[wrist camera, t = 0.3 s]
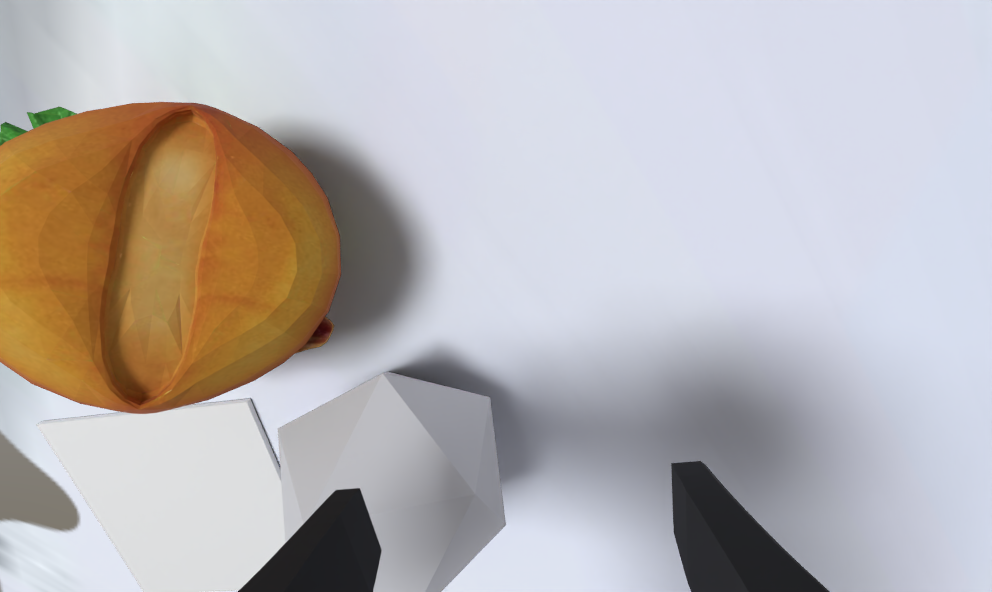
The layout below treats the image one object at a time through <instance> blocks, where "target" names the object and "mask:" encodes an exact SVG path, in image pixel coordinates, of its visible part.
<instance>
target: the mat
mask: <svg viewBox="0 0 992 592" xmlns="http://www.w3.org/2000/svg"><path fill="white" fill-rule="evenodd" d="M36 425H37V427H38V428H39V430H40V431H41V433H42V434H43V436H44V437H45V439H46V441H47V442H48V444H49V445H50V447H51V448H52V450H53V452H54V453H55V455H56V456H57V458H58V459H59V461H60V462H61V464H62V466H63V467H64V469H65V470H66V472H67V473H68V475H69V476H70V478H71V480H72V481H73V483H74V484H75V486H76V487H77V489H78V491H79V492H80V494H81V495H82V497H83V498H84V500H85V501H86V503H87V505H88V506H89V508H90V509H91V511H92V512H93V514H94V516H95V517H96V519H97V520H98V522H99V523H100V525H101V526H102V528H103V530H104V531H105V533H106V534H107V536H108V537H109V539H110V540H111V542H112V544H113V545H114V547H115V548H116V550H117V551H118V553H119V555H120V556H121V558H122V559H123V561H124V562H125V564H126V565H127V567H128V569H129V570H130V572H131V573H132V575H133V576H134V578H135V580H136V581H137V583H138V584H139V586H140V587H141V589H142V590H143V592H215V591H235V590H240V589H241V588H242V587H243V586H244V585H245V584H246V583H247V582H248V581H249V580H250V579H251V578H252V577H253V576H254V575H255V574H256V573H257V572H258V571H259V570H260V569H261V568H262V567H263V566H264V565H265V564H266V563H267V562H268V561H269V560H270V559H271V558H272V557H273V556H274V555H275V554H276V552H277V551H278V550H279V549H280V548H281V547H282V546H283V545H284V544H285V529H284V514H283V499H282V484H281V470H280V467H279V465H278V463H277V460H276V458H275V456H274V453H273V451H272V449H271V446H270V444H269V442H268V439H267V437H266V435H265V432H264V430H263V428H262V425H261V423H260V421H259V418H258V416H257V413H256V411H255V409H254V406H253V404H252V402H251V399H241V400H232V401H223V402H214V403H204V404H195V405H187V406H183V407H179V408H175V409H172V410H167V411H163V412H158V413H150V414H132V413H126V412H121V413H112V414H102V415H93V416H84V417H75V418H65V419H56V420H47V421H41V422H40V423H38V424H36Z"/></svg>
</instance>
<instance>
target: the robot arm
mask: <svg viewBox="0 0 992 592" xmlns="http://www.w3.org/2000/svg"><path fill="white" fill-rule="evenodd" d="M671 466H672V494H673V522H674V535H675V538H676V542H677V546H678V549H679V553H680V557H681V560H682V564H683V567H684V571H685V574H686V578H687V581H688V584H689V587H690V590H691V592H830V591H828V590H827V589H826V588H825V587H824V586H823V585H822V584H821V583H820V582H819V581H817V580H816V579H815V578H814V577H813V576H812V575H811V574H810V573H809V572H808V571H807V570H805V569H804V568H803V567H802V566H801V565H800V564H799V563H798V562H797V561H796V560H795V559H794V558H793V557H792V556H791V555H790V554H789V553H788V552H786V551H785V550H784V549H783V548H782V547H781V546H780V545H779V544H778V543H777V542H776V541H775V540H774V539H773V538H772V537H771V536H770V535H769V534H768V533H767V532H766V531H765V530H764V529H763V528H762V527H761V526H760V525H759V524H758V523H757V521H756V520H755V519H754V518H753V517H752V516H751V515H750V514H749V513H748V512H747V511H746V510H745V509H744V508H743V507H742V506H741V505H740V503H739V502H738V501H737V500H736V499H735V498H734V497H733V496H732V495H731V494H730V493H729V491H728V490H727V489H726V488H725V487H724V486H723V485H722V484H721V482H720V481H719V480H718V479H717V478H716V477H715V476H714V474H713V473H712V472H711V471H710V470H709V469H708V467H707V466H706V465H705V464H703V463H702V462H701V461H697V462H684V463H671ZM381 551H382V549H381V547H380V544H379V541H378V538H377V535H376V532H375V530H374V527H373V524H372V521H371V518H370V515H369V513H368V510H367V507H366V504H365V501H364V498H363V496H362V493H361V490H360V488H353V489H341V490H335V491H334V492H333V493H332V494H331V495H330V496H329V497H328V498H327V499H326V500H325V501H324V503H323V504H322V505H321V506H320V507H319V508H318V509H317V510H316V511H315V512H314V513H313V514H312V515H311V516H310V517H309V519H308V520H307V521H306V522H305V523H304V524H303V525H302V526H301V527H300V528H299V529H298V530H297V531H296V532H295V534H294V535H293V536H292V537H291V538H290V539H289V540H288V541H287V542H286V543H285V544H284V545H283V546H282V547H281V548H280V549H279V550H278V551H277V552H276V554H275V555H274V556H273V557H272V558H271V559H270V560H269V561H268V562H267V563H266V564H265V565H264V566H263V567H262V568H261V569H260V570H259V571H258V572H257V573H256V574H255V575H254V576H253V577H252V578H251V579H250V580H249V581H248V582H247V583H246V584H245V585H244V586H243V587H242V588H241V589H240V590H239V591H238V592H373V589H374V585H375V581H376V576H377V571H378V566H379V561H380V556H381Z"/></svg>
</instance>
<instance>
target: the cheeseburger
mask: <svg viewBox="0 0 992 592" xmlns="http://www.w3.org/2000/svg"><path fill="white" fill-rule="evenodd" d="M27 114H28V116H29V119H30V121H31V123H32V126H33V128H34V129H32V130H30V131H26V130H23V129H21V128H19V127H16V126H14V125H11V124H9V123H7V122H5V123H3V124H1V132H0V362H1V363H3V364H4V365H5V366H7V367H8V368H10V369H11V370H13V371H14V372H16V373H17V374H19V375H20V376H21V377H23V378H24V379H26V380H27V381H29V382H30V383H32V384H34V385H36V386H39V387H41V388H43V389H46V390H48V391H51V392H53V393H56V394H58V395H61V396H63V397H65V398H68V399H70V400H73V401H75V402H78V403H80V404H85V405H90V406H95V407H100V408H105V409H110V410H114V411H120V412H126V413H132V414H150V413H158V412H163V411H167V410H172V409H175V408H179V407H183V406H187V405H190V404H194V403H198V402H202V401H206V400H209V399H212V398H214V397H217V396H219V395H221V394H224V393H226V392H228V391H231V390H233V389H236V388H238V387H240V386H243V385H245V384H247V383H250V382H252V381H255V380H256V379H258V378H259V377H261V376H263V375H264V374H266V373H268V372H269V371H271V370H273V369H274V368H276V367H278V366H279V365H281V364H283V363H284V362H285V361H286V360H288V359H289V358H290V357H291V356H292V355H293V354H295V353H298V352H301V351H304V350H307V349H311V348H316V347H320V346H322V345H323V344H325V343H326V342H327V341H328V339H329V338H330V336H331V334H332V331H333V327H334V325H333V323H332V322H331V321H330V320H329V319H328V318H326V317H325V316H326V314H327V313H328V312H329V310H330V306H331V303H332V300H333V297H334V294H335V291H336V288H337V285H338V282H339V279H340V276H341V258H340V235H339V232H338V229H337V226H336V223H335V220H334V217H333V214H332V211H331V208H330V205H329V201H328V198H327V196H326V195H325V193H324V192H323V190H322V189H321V187H320V186H319V184H318V182H317V181H316V179H315V178H314V176H313V175H312V173H311V172H310V171H309V170H308V169H307V168H306V167H305V165H304V164H303V163H302V162H301V161H300V160H299V159H298V158H297V157H296V156H295V154H294V153H293V152H292V151H291V150H289V149H288V148H286V147H285V146H284V145H282V144H281V143H279V142H278V141H277V140H275V139H274V138H272V137H271V136H270V135H268V134H267V133H265V132H264V131H263V130H261V129H260V128H259V127H257V126H254V125H252V124H250V123H248V122H246V121H244V120H241V119H239V118H237V117H235V116H233V115H230V114H228V113H226V112H224V111H221V110H219V109H216V108H214V107H210V106H207V105H203V104H197V103H174V102H154V103H132V104H126V105H121V106H115V107H110V108H105V109H98V110H92V111H86V112H83V113H79V114H76V113H74V112H72V111H69V110H67V109H64V108H62V107H57V108H53V109H49V110H46V111H42V112H38V113H35V114H34V113H29V112H27Z"/></svg>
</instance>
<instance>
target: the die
mask: <svg viewBox="0 0 992 592" xmlns="http://www.w3.org/2000/svg"><path fill="white" fill-rule="evenodd" d="M278 439H279V454H280V469H281V484H282V499H283V514H284V529H285V543H286V542H287V541H288V540H289V539H290V538H291V537H292V536H293V535H294V534H295V532H296V531H297V530H298V529H299V528H300V527H301V526H302V525H303V524H304V523H305V522H306V521H307V520H308V519H309V517H310V516H311V515H312V514H313V513H314V512H315V511H316V510H317V509H318V508H319V507H320V506H321V505H322V504H323V503H324V501H325V500H326V499H327V498H328V497H329V496H330V495H331V494H332V493H333V492H334V491H335V490H341V489H353V488H360V490H361V493H362V496H363V498H364V501H365V504H366V507H367V510H368V513H369V515H370V518H371V521H372V524H373V527H374V530H375V532H376V535H377V538H378V541H379V544H380V547H381V549H382V551H381V556H380V561H379V566H378V571H377V576H376V581H375V585H374V589H373V592H441V591H442V590H443V589H444V588H445V587H446V586H447V585H448V584H449V583H450V582H451V581H452V580H453V579H454V578H455V577H456V576H457V575H458V574H459V573H460V572H461V571H462V570H463V569H464V568H465V567H466V566H467V565H468V564H469V563H470V561H471V560H472V559H473V558H474V557H475V556H476V555H477V554H478V553H479V552H480V551H481V550H482V549H483V548H484V547H485V546H486V545H487V544H488V543H489V542H490V541H491V540H492V539H493V538H494V537H495V536H496V535H497V534H498V533H499V532H500V531H501V530H502V529H503V527H504V526H505V525H506V522H505V514H504V506H503V498H502V490H501V482H500V474H499V466H498V457H497V449H496V441H495V433H494V425H493V417H492V409H491V401H490V397H487V396H483V395H479V394H475V393H471V392H467V391H463V390H459V389H455V388H451V387H447V386H443V385H439V384H435V383H431V382H427V381H423V380H419V379H415V378H411V377H407V376H403V375H399V374H395V373H391V372H385V373H382V374H380V375H378V376H376V377H374V378H373V379H371V380H369V381H367V382H365V383H363V384H361V385H359V386H357V387H356V388H354V389H352V390H350V391H348V392H346V393H344V394H342V395H340V396H339V397H337V398H335V399H333V400H331V401H329V402H327V403H325V404H323V405H322V406H320V407H318V408H316V409H314V410H312V411H310V412H308V413H306V414H305V415H303V416H301V417H299V418H297V419H295V420H293V421H291V422H289V423H287V424H286V425H284V426H282V427H280V428H278Z"/></svg>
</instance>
